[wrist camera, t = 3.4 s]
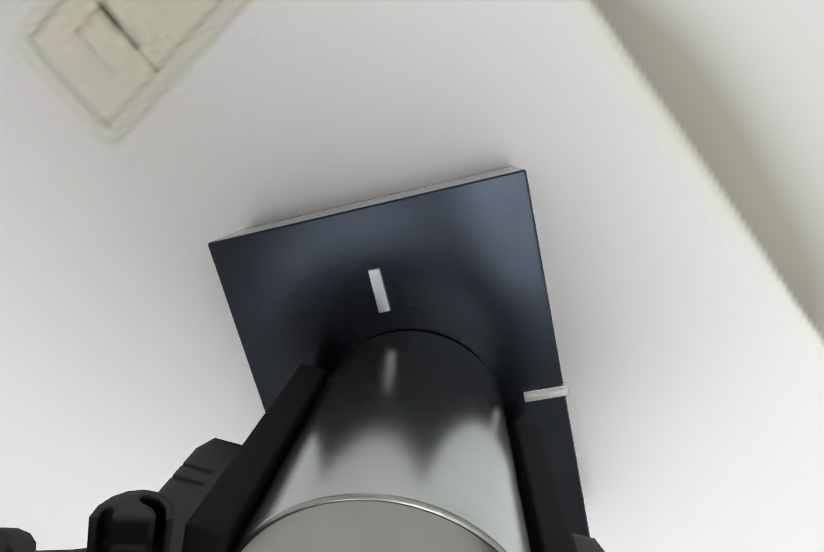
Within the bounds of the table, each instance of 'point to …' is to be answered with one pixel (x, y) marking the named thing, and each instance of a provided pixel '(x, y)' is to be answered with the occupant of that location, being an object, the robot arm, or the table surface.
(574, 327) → the table surface
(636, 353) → the table surface
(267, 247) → the control panel
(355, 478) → the knob
